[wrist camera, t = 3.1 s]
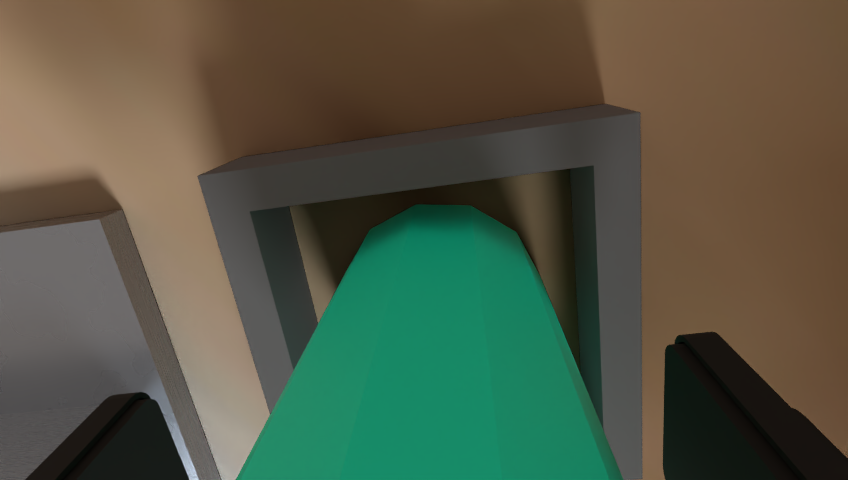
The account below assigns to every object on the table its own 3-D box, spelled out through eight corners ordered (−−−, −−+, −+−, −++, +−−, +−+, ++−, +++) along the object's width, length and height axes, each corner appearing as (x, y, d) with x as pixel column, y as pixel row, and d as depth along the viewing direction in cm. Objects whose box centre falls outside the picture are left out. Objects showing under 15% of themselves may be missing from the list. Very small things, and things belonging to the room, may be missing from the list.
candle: (317, 228, 14) (-181, 820, 3) (520, 178, 14) (850, 744, 2) (376, 395, 16) (198, 1146, 5) (557, 360, 15) (840, 1170, 4)
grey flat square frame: (605, 103, 13) (640, 112, 10) (614, 418, 16) (642, 478, 14) (241, 157, 14) (197, 176, 11) (318, 442, 17) (297, 502, 15)
